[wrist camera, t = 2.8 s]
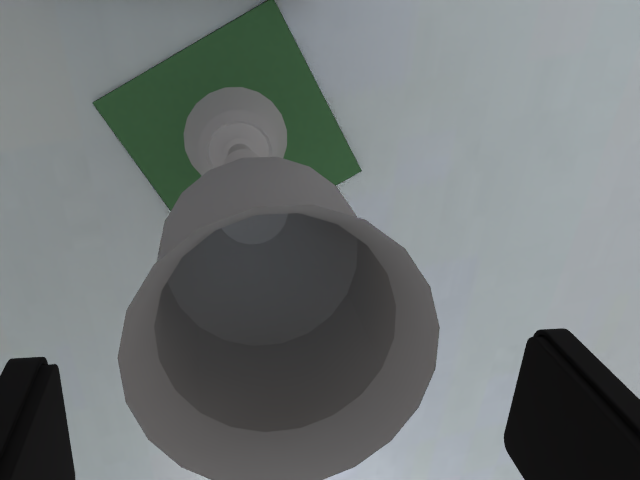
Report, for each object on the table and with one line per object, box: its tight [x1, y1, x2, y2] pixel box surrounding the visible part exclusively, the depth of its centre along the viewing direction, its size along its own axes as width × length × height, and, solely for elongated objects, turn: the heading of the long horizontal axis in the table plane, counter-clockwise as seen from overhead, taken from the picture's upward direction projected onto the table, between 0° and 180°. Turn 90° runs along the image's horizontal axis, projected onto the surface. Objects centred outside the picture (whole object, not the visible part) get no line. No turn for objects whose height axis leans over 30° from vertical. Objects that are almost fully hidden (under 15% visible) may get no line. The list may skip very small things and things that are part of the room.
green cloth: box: [93, 0, 361, 211], centre depth 28 cm, size 10×10×1 cm
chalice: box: [118, 87, 440, 480], centre depth 20 cm, size 7×7×18 cm
